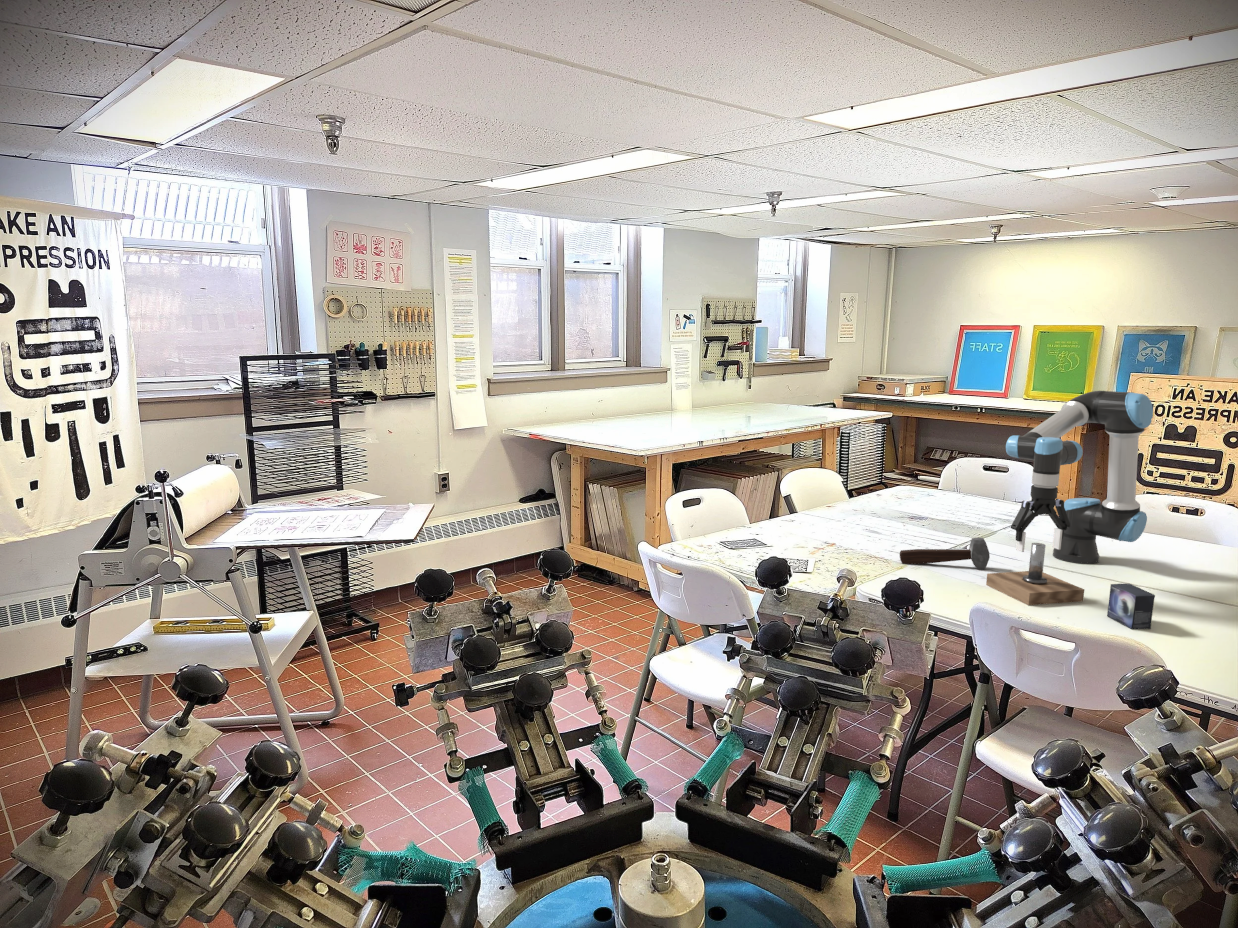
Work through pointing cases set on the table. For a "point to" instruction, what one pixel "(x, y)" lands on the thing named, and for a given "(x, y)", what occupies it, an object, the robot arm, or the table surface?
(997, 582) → the socket plate
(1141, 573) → the table surface
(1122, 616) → the small box
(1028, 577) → the steel peg
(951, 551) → the hammer
